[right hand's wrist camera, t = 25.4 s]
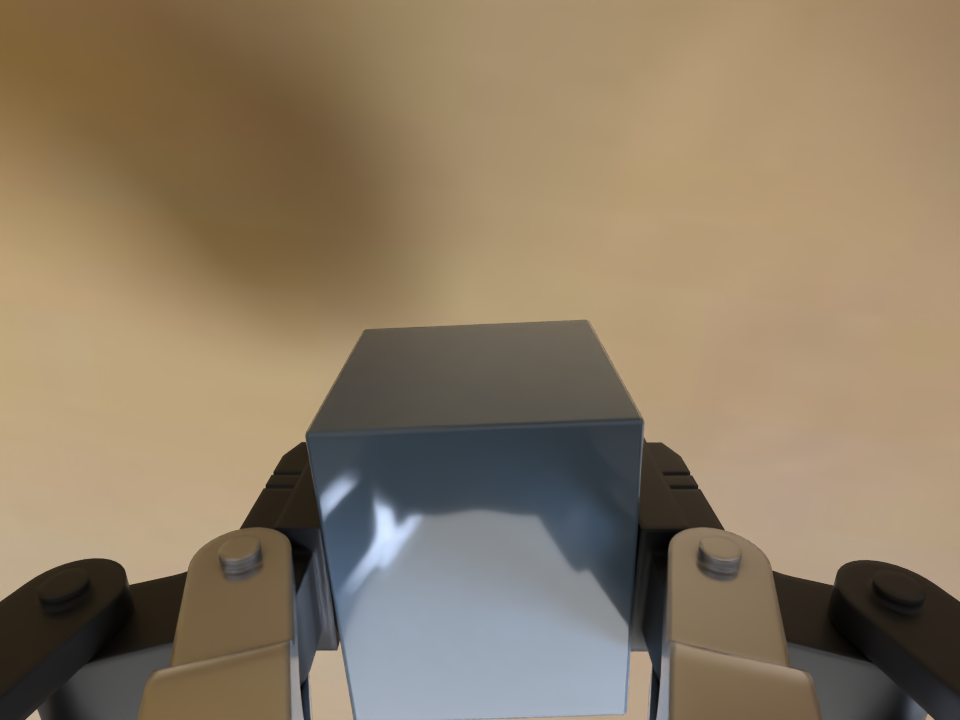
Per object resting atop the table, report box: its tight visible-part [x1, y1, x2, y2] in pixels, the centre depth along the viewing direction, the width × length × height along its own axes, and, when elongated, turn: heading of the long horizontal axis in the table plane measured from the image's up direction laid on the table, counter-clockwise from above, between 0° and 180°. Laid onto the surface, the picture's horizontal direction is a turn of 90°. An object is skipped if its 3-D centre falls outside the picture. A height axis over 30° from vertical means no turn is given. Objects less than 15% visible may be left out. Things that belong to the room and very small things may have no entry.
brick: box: [305, 320, 644, 720], centre depth 10 cm, size 4×5×4 cm
